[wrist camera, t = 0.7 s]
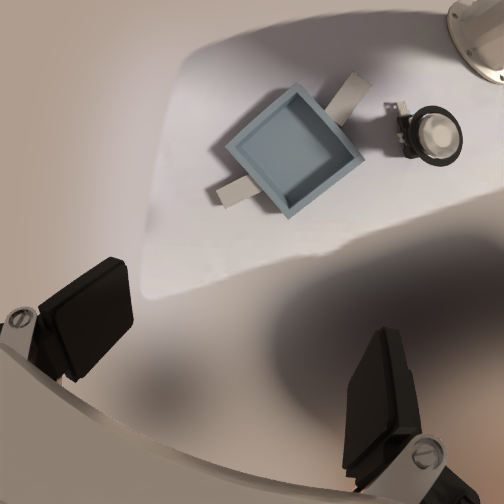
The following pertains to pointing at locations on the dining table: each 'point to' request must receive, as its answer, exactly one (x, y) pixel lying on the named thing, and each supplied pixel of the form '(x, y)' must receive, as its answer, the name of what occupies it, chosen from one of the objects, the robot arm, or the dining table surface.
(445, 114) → the push button
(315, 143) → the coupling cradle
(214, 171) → the dining table surface
